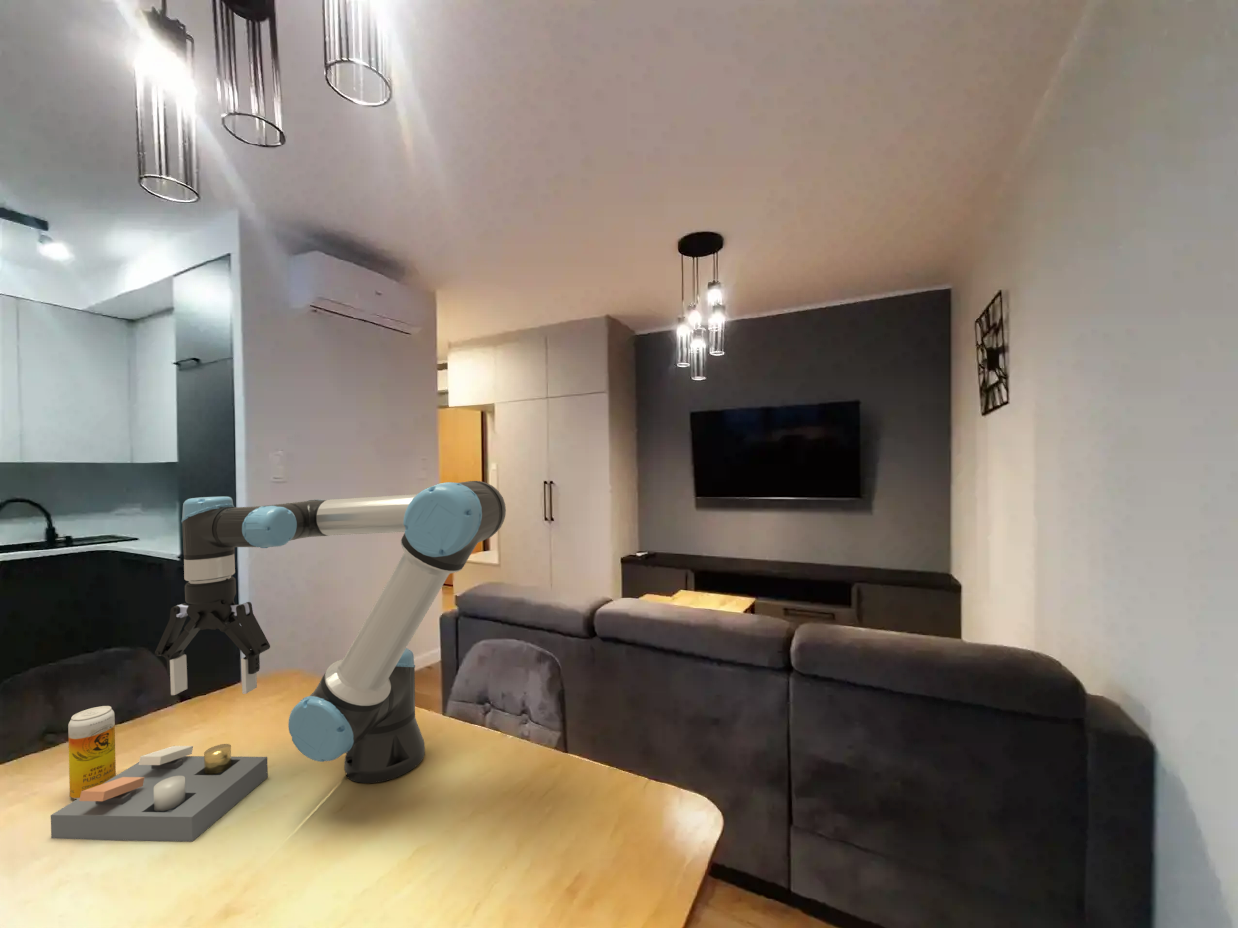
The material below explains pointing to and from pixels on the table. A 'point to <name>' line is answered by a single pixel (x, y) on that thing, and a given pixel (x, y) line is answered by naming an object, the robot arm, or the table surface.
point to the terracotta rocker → (111, 789)
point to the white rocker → (165, 755)
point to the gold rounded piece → (217, 759)
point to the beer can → (91, 749)
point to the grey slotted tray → (141, 822)
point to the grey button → (169, 793)
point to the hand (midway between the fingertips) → (214, 691)
